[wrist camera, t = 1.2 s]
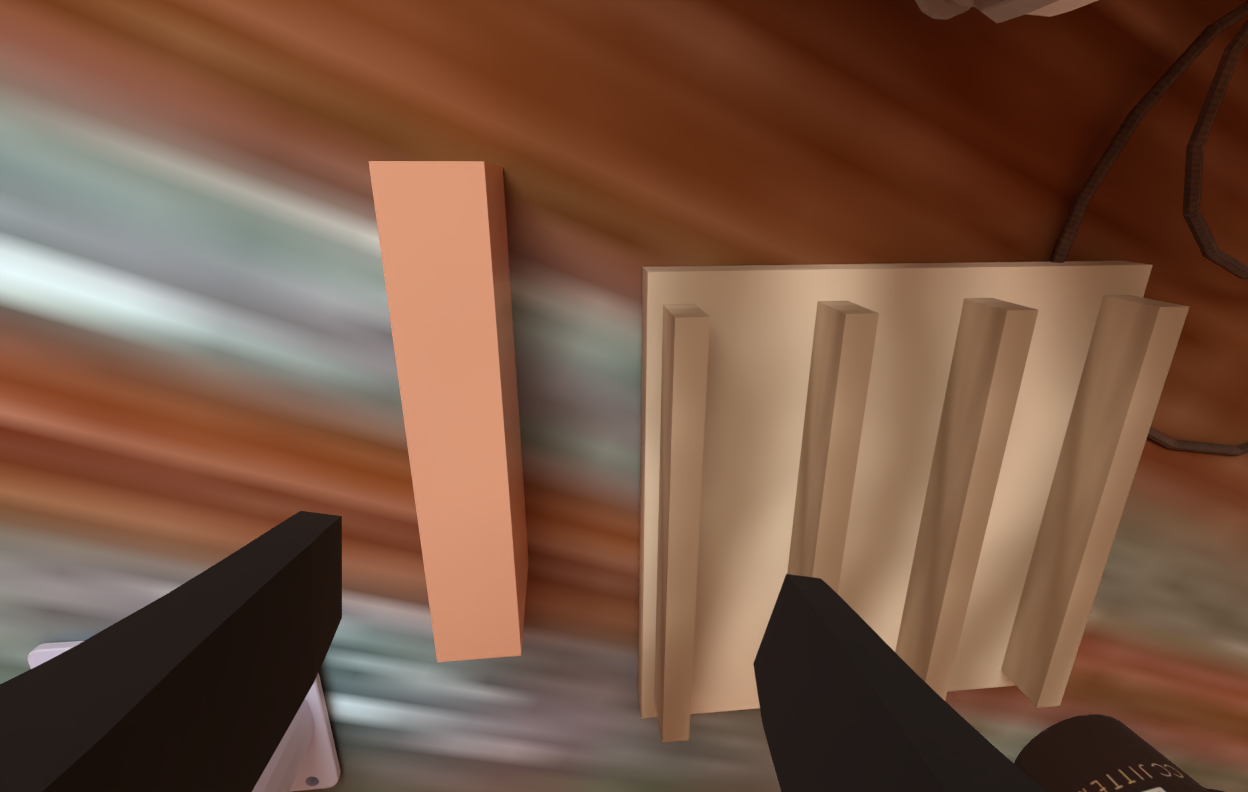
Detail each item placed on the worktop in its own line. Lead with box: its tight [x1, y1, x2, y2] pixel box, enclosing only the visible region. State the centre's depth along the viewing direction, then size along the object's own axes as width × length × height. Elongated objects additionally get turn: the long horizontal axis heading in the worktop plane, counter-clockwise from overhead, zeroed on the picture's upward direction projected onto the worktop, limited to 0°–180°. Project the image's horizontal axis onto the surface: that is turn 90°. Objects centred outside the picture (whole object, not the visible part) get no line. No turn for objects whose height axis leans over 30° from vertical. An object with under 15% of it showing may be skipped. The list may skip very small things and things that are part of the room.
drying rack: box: [638, 261, 1190, 743], centre depth 22 cm, size 17×18×3 cm
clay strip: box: [369, 161, 529, 662], centre depth 18 cm, size 2×14×5 cm, turn 0°
